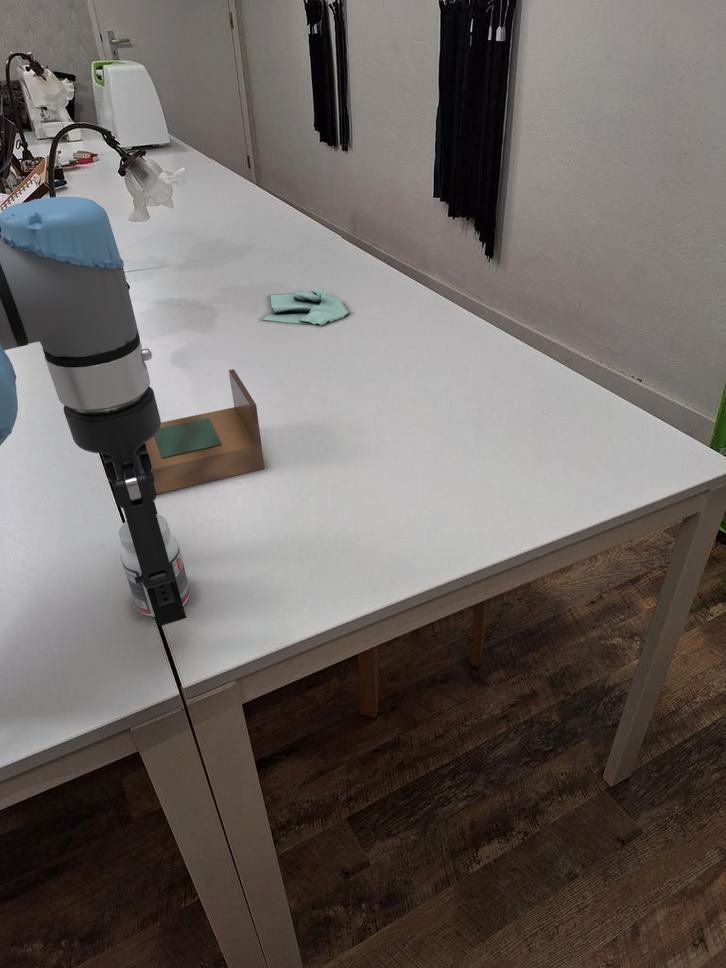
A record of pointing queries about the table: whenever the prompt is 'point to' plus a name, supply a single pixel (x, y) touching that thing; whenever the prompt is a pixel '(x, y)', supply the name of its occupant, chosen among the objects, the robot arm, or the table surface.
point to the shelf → (207, 444)
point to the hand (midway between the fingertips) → (160, 575)
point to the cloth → (306, 308)
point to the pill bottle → (134, 569)
